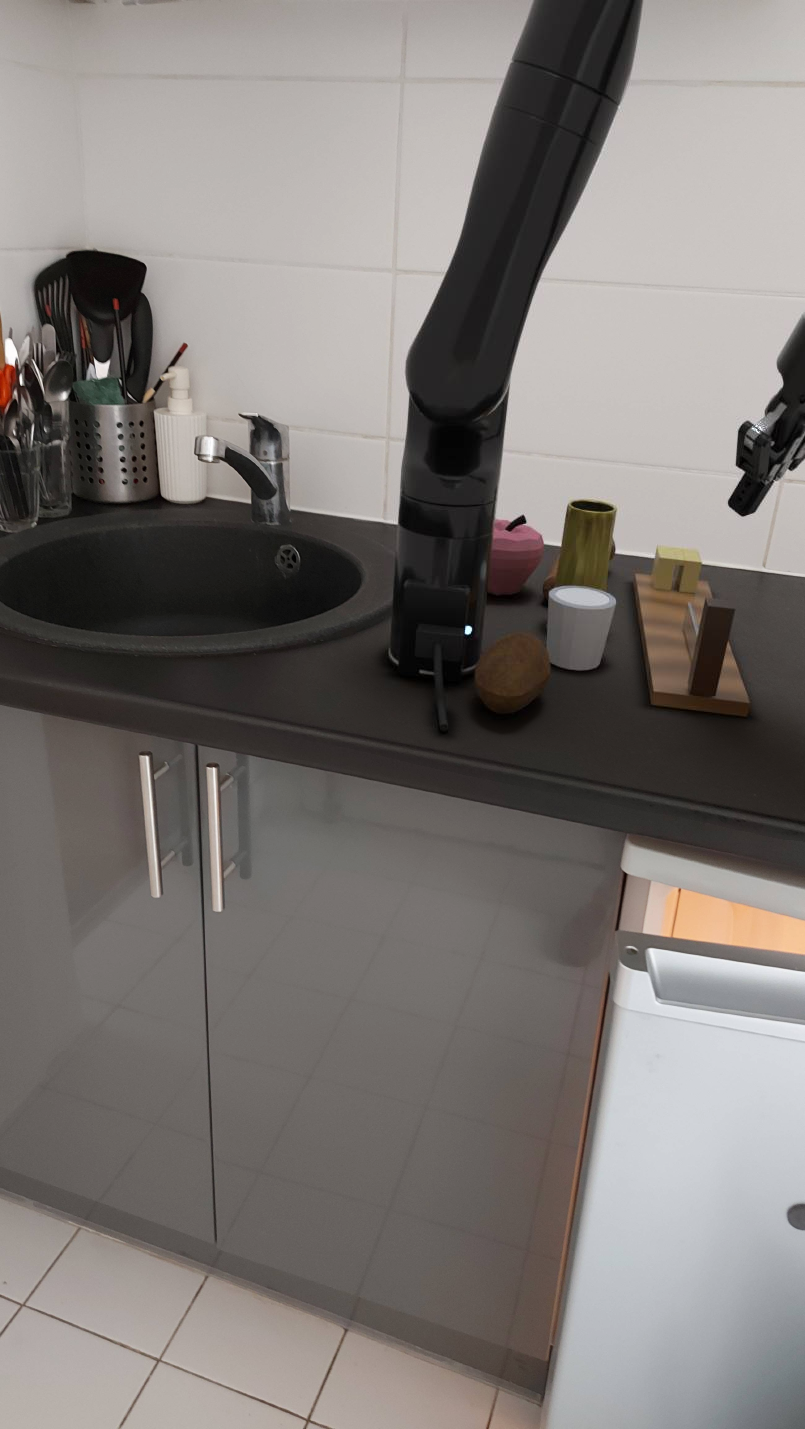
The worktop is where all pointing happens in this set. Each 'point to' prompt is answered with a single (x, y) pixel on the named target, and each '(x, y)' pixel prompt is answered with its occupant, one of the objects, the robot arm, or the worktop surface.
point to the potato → (512, 672)
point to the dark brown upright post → (708, 643)
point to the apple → (513, 555)
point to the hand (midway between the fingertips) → (739, 509)
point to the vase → (586, 544)
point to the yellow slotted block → (686, 570)
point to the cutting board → (681, 651)
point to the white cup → (578, 626)
